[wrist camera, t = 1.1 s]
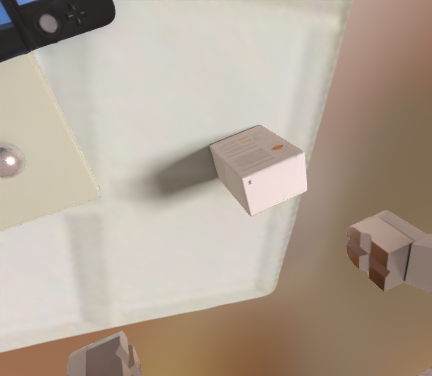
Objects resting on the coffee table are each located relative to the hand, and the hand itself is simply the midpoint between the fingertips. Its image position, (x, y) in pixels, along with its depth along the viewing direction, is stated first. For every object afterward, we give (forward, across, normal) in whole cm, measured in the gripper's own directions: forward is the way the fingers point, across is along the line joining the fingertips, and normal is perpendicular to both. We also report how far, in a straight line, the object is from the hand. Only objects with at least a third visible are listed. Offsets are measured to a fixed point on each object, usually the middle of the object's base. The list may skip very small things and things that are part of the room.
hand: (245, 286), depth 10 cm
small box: (+30, -11, +11) cm, 34 cm away
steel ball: (+25, +14, +1) cm, 29 cm away
